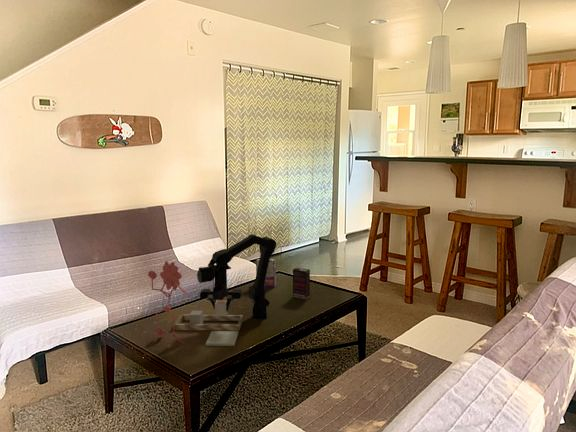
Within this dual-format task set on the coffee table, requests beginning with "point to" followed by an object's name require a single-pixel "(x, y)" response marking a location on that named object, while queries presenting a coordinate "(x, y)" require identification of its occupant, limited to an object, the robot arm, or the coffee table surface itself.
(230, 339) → the sage board
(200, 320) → the grey block
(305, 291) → the supplement box
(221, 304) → the labelled block
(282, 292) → the coffee table surface
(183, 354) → the coffee table surface
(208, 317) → the bin
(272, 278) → the candy bar box
